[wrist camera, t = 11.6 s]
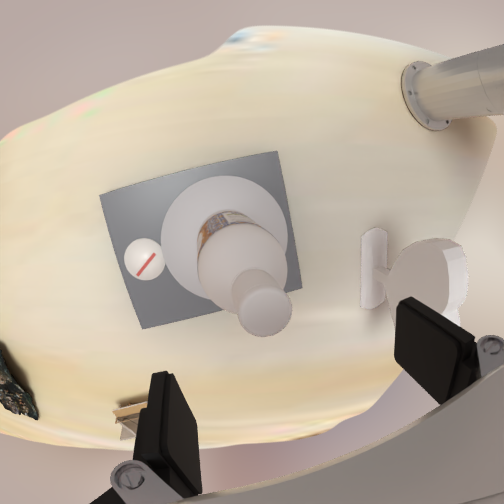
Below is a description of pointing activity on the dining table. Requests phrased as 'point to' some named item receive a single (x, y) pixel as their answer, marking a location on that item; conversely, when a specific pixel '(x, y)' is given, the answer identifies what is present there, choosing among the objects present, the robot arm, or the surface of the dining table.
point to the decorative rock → (14, 394)
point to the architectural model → (129, 419)
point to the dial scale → (191, 231)
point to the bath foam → (244, 271)
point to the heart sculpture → (414, 274)
